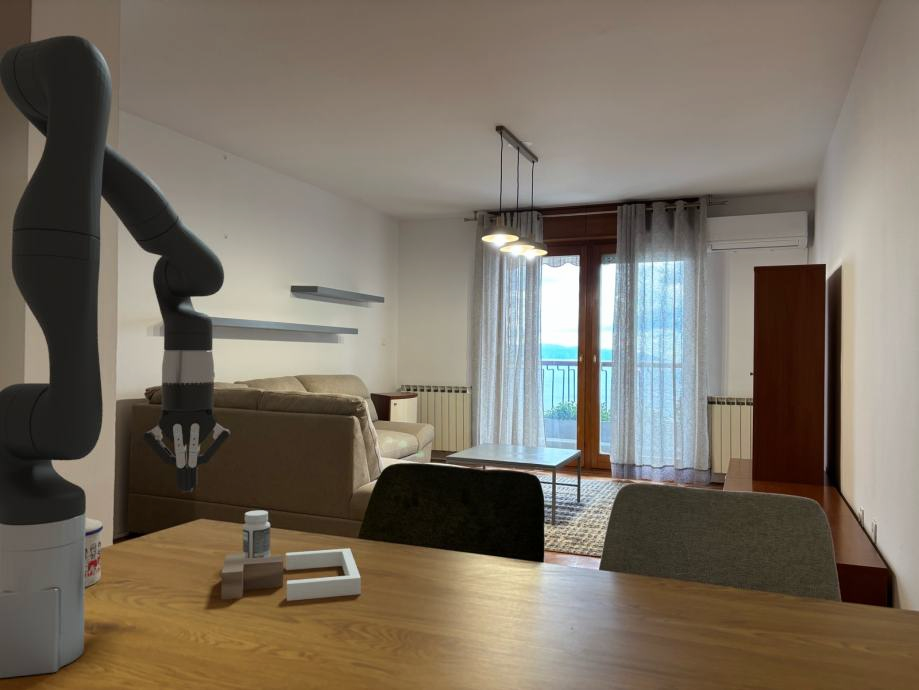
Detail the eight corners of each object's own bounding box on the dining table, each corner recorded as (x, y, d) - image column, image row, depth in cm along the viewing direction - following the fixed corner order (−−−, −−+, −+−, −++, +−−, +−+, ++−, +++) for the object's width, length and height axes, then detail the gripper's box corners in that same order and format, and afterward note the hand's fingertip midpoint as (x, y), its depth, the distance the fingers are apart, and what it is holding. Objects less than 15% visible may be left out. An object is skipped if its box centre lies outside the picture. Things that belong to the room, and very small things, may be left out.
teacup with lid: (79, 594, 102) (80, 517, 102) (22, 592, 102) (23, 516, 103) (124, 568, 114) (124, 500, 114) (73, 567, 114) (73, 499, 115)
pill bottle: (274, 555, 122) (274, 509, 122) (264, 564, 117) (264, 516, 117) (249, 555, 122) (249, 509, 122) (238, 563, 117) (238, 515, 117)
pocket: (360, 594, 102) (360, 577, 102) (286, 600, 100) (287, 584, 100) (349, 562, 118) (349, 548, 118) (285, 567, 115) (285, 552, 115)
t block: (283, 594, 102) (283, 568, 102) (221, 599, 100) (221, 573, 100) (282, 573, 112) (283, 549, 112) (226, 577, 110) (226, 553, 110)
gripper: (136, 381, 98) (136, 498, 98) (231, 380, 102) (230, 493, 102) (146, 378, 105) (145, 488, 105) (234, 378, 109) (233, 484, 109)
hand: (187, 490), depth 103 cm, fingers closed
